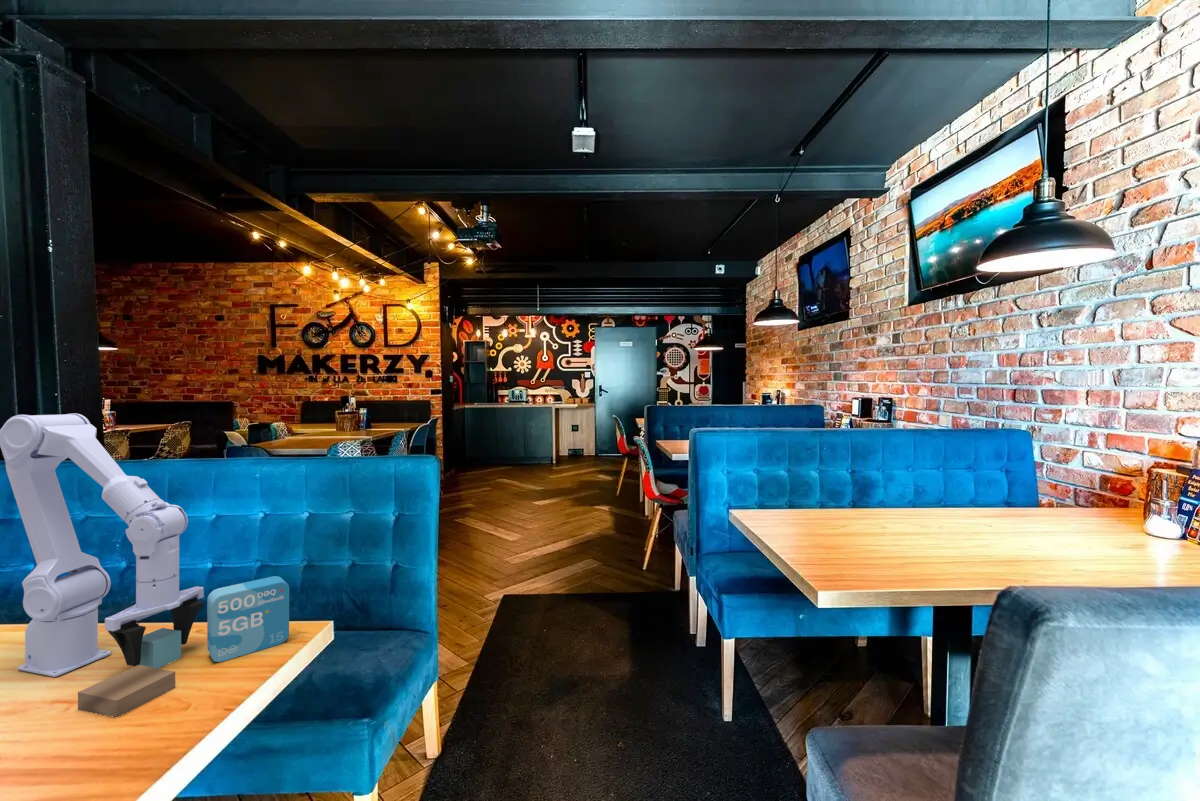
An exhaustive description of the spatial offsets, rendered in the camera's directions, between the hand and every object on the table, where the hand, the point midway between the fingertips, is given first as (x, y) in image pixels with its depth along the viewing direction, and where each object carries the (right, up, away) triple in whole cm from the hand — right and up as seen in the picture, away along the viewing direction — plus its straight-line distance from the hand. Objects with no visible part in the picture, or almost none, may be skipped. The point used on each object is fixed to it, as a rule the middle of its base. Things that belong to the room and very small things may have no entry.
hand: (157, 653), depth 89 cm
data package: (+13, -2, +5) cm, 14 cm away
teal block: (0, -2, 0) cm, 2 cm away
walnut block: (+5, -2, -10) cm, 12 cm away
